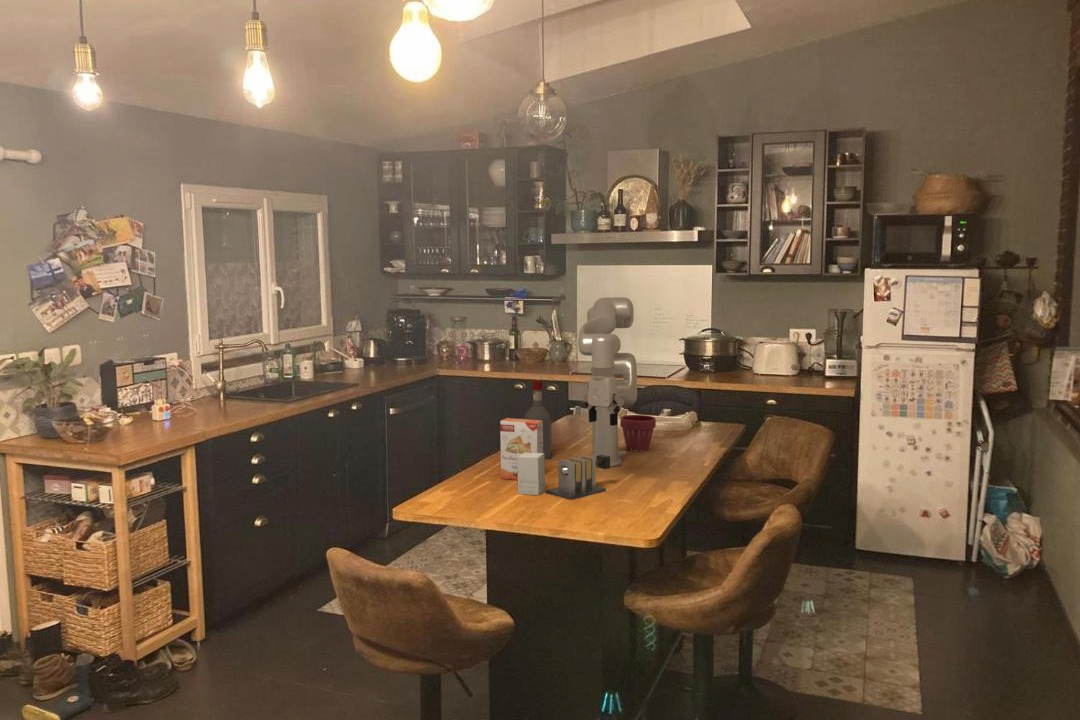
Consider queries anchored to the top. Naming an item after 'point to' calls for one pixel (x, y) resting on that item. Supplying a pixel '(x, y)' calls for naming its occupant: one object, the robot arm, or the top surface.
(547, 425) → the liquor
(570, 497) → the frame
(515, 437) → the cracker box
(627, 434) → the plant pot
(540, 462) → the supplement box
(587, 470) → the spacer
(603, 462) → the shaft
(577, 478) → the spacer
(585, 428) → the top surface
